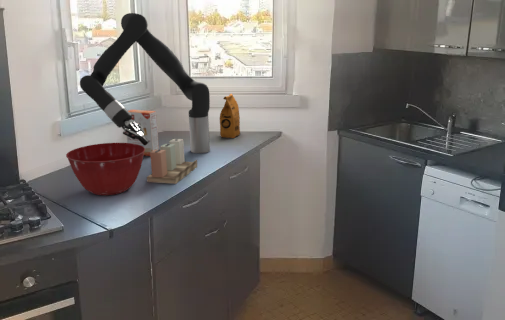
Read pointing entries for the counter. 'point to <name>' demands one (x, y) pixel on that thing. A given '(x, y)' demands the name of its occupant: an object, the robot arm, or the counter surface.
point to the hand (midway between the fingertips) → (147, 143)
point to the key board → (175, 173)
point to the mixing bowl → (107, 166)
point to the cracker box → (146, 129)
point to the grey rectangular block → (178, 150)
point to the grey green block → (170, 156)
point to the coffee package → (230, 118)
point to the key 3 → (158, 163)
